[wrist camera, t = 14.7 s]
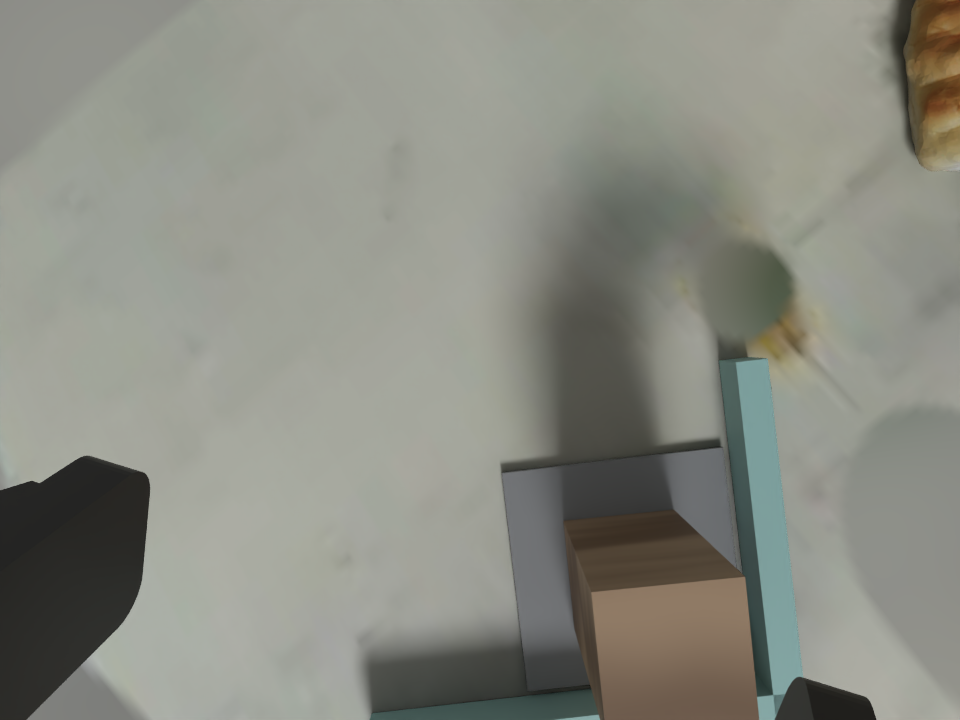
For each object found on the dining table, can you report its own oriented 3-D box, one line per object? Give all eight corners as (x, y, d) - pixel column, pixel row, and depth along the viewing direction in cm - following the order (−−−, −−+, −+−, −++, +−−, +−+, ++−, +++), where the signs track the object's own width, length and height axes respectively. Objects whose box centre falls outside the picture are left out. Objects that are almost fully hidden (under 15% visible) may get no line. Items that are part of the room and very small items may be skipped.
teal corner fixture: (333, 405, 36) (322, 411, 33) (748, 357, 36) (767, 358, 33) (375, 741, 36) (366, 771, 34) (786, 695, 36) (808, 722, 33)
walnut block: (563, 520, 36) (591, 592, 26) (673, 509, 36) (745, 576, 26) (574, 630, 36) (606, 743, 26) (684, 619, 36) (760, 728, 26)
